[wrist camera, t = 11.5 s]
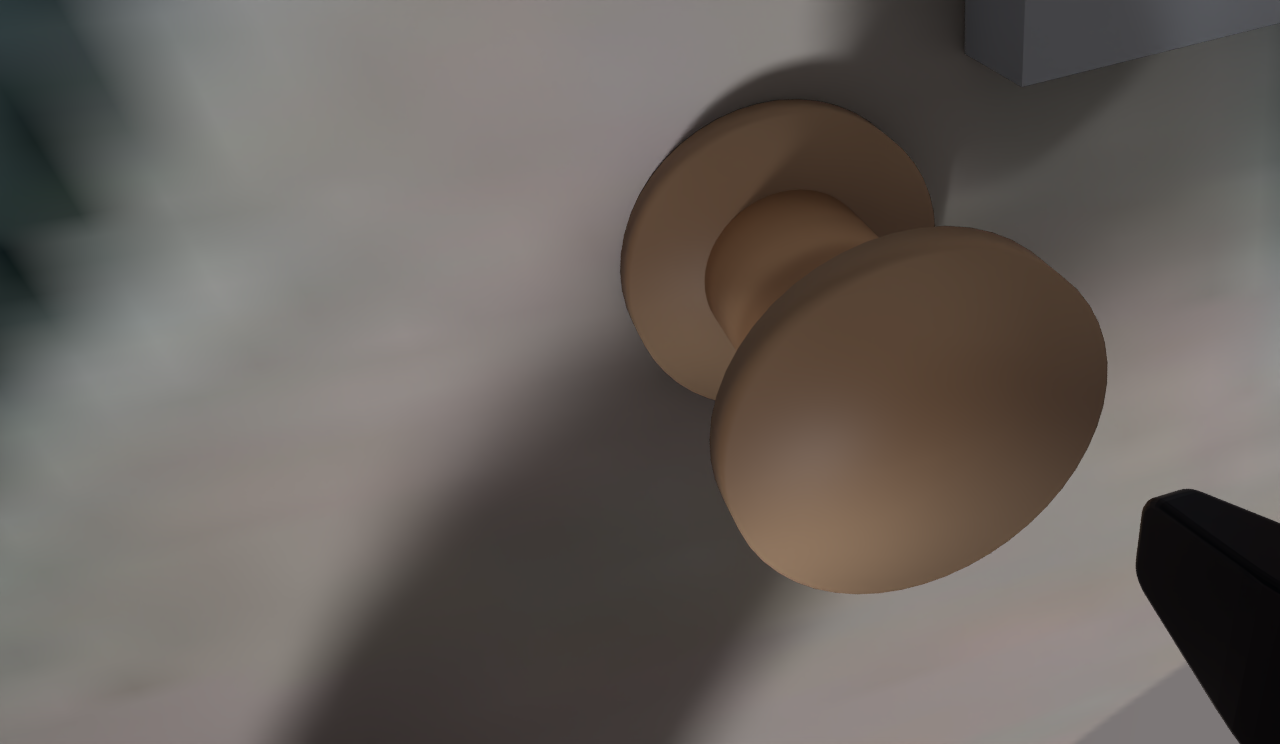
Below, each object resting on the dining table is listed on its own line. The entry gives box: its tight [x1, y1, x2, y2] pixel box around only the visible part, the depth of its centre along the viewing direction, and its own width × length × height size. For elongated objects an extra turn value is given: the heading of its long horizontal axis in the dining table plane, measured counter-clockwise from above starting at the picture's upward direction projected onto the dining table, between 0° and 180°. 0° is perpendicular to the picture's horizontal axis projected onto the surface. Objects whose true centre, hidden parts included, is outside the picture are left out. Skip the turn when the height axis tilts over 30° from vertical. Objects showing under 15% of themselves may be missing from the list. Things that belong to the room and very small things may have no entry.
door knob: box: [620, 99, 1107, 594], centre depth 19 cm, size 6×6×6 cm
